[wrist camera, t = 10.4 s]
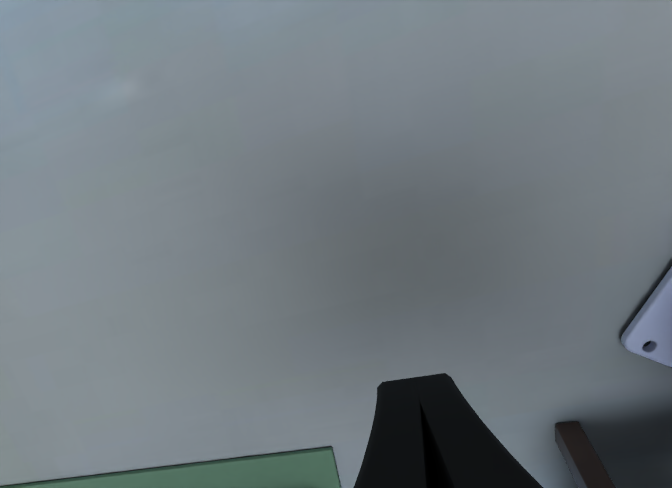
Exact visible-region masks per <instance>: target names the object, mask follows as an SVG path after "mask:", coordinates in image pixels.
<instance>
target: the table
mask: <svg viewBox="0 0 672 488" xmlns="http://www.w3.org/2000/svg"><path fill="white" fill-rule="evenodd" d="M555 435H556V443H557V445H558V447H559V449H560V451H561V453H562V455H563V457H564V459H565V461H566V463H567V465H568V467H569V470H570V472H571V474H572V476H573V478H574V480H575V482H576V484H577V486H578V488H616V487H615V485H614V484H613V482H612V480H611V478H610V477H609V475H608V473H607V471H606V470H605V468H604V466H603V464H602V463H601V461H600V459H599V457H598V456H597V454H596V452H595V450H594V448H593V447H592V445H591V443H590V441H589V440H588V438H587V436H586V434H585V433H584V431H583V429H582V427H581V426H580V424H579V422H577V421H576V422H568V423H559V424H556V425H555Z"/></svg>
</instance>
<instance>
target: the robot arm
mask: <svg viewBox="0 0 672 488" xmlns="http://www.w3.org/2000/svg"><path fill="white" fill-rule="evenodd" d="M648 341H651V342H650V344H649V345H648V346H645V347H643V345H644V344H645V343H646V342H648ZM621 342H622V344H623V345H624V347H625V348H626V349H627V350H629V351H630V352H632V353H635V354H638V355H640V356H643V357H645V358H648V359H650V360H653V361H656V362H658V363H661V364H663V365H666V366H669V367H671V368H672V267H671V268H670V270H669V271H668V272H667V274H666V275H665V277H664V278H663V279H662V281H661V282H660V283H659V285H658V286H657V288H656V289H655V290H654V292H653V293H652V295H651V296H650V297H649V299H648V300H647V301H646V303H645V304H644V306H643V307H642V308H641V310H640V311H639V312H638V314H637V315H636V317H635V318H634V319H633V321H632V322H631V324H630V325H629V326H628V328H627V329H626V330H625V332H624V333H623V335H622V337H621ZM354 488H543V487H542V486H541V485H540V484H539V483H538V482H537V481H536V480H535V479H534V478H533V477H532V476H531V475H530V474H529V473H528V472H527V471H526V470H525V469H524V468H523V467H522V466H521V465H520V463H519V462H518V461H517V460H516V459H515V458H514V457H513V456H512V455H511V454H510V453H509V452H508V451H507V449H506V448H505V447H504V446H503V445H502V444H501V443H500V441H499V440H498V439H497V438H496V437H495V436H494V435H493V433H492V432H491V431H490V430H489V429H488V428H487V426H486V425H485V424H484V423H483V421H482V420H481V419H480V418H479V416H478V415H477V414H476V413H475V411H474V410H473V409H472V407H471V406H470V405H469V403H468V402H467V401H466V399H465V398H464V397H463V395H462V394H461V392H460V391H459V389H458V388H457V386H456V385H455V383H454V381H453V380H452V378H451V377H450V376H448V375H447V374H446V373H443V374H436V375H429V376H422V377H415V378H407V379H400V380H393V381H386V382H382V383H381V384H380V385H379V386H378V388H377V404H376V410H375V416H374V421H373V425H372V430H371V434H370V438H369V441H368V445H367V448H366V452H365V455H364V459H363V462H362V466H361V469H360V472H359V475H358V477H357V480H356V483H355V486H354Z"/></svg>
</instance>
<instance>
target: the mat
mask: <svg viewBox="0 0 672 488" xmlns="http://www.w3.org/2000/svg"><path fill="white" fill-rule="evenodd" d="M0 488H341V486H340V481H339V477H338V472H337V468H336V463H335V459H334V454H333V449H332V447H327V448H318V449H310V450H302V451H294V452H285V453H277V454H269V455H260V456H252V457H244V458H235V459H227V460H219V461H210V462H202V463H194V464H186V465H177V466H169V467H161V468H152V469H144V470H136V471H127V472H119V473H111V474H102V475H94V476H86V477H78V478H69V479H61V480H53V481H44V482H36V483H28V484H19V485H11V486H3V487H0Z"/></svg>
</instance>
